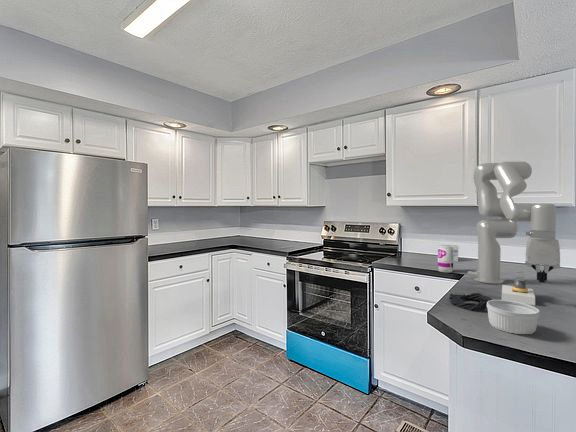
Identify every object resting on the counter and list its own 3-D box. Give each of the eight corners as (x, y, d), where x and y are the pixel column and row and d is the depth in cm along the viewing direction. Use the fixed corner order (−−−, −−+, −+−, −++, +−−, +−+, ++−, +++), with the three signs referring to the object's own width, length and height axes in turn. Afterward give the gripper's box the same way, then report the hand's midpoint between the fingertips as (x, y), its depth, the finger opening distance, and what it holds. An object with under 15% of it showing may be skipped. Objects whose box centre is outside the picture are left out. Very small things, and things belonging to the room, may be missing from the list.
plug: (511, 298, 125) (512, 279, 125) (511, 295, 129) (512, 277, 129) (527, 301, 122) (528, 281, 122) (527, 298, 126) (527, 278, 126)
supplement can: (444, 273, 175) (445, 247, 174) (434, 270, 183) (434, 245, 182) (456, 272, 177) (456, 246, 177) (445, 269, 185) (446, 244, 184)
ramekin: (547, 340, 86) (547, 316, 86) (492, 333, 91) (492, 310, 90) (529, 323, 98) (530, 302, 98) (482, 318, 103) (482, 297, 103)
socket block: (501, 300, 123) (502, 280, 123) (502, 291, 136) (502, 273, 136) (535, 305, 117) (535, 284, 117) (532, 295, 130) (532, 276, 130)
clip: (516, 280, 123) (516, 276, 123) (515, 274, 133) (515, 271, 133) (524, 281, 121) (524, 277, 121) (523, 275, 131) (523, 271, 131)
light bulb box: (441, 260, 218) (441, 245, 217) (440, 259, 224) (441, 244, 224) (458, 261, 213) (458, 246, 213) (457, 260, 220) (457, 245, 219)
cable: (493, 315, 107) (494, 303, 106) (448, 308, 113) (448, 297, 113) (488, 302, 122) (489, 291, 121) (449, 297, 128) (449, 286, 128)
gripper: (518, 234, 120) (517, 281, 120) (570, 237, 111) (569, 287, 111) (518, 233, 126) (517, 278, 126) (567, 235, 117) (565, 283, 117)
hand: (541, 282), depth 119 cm, fingers closed
